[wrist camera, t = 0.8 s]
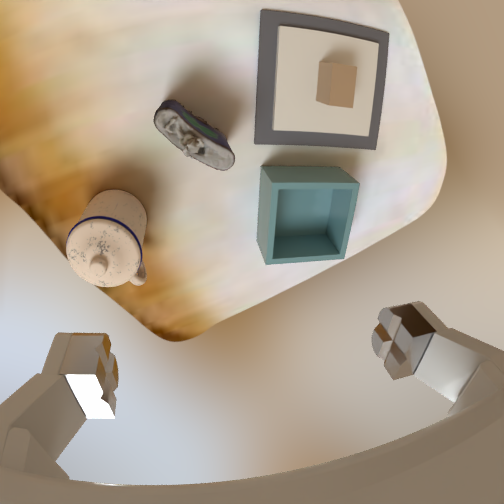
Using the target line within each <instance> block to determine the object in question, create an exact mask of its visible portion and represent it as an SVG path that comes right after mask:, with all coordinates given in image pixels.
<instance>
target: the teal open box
mask: <svg viewBox="0 0 504 504" xmlns="http://www.w3.org/2000/svg"><path fill="white" fill-rule="evenodd" d="M359 185H360V183H359V182H357V181H356V180H355V179H354V178H353V177H351V176H350V175H349V174H348V173H346V172H345V171H344V170H343V169H341V168H340V167H317V166H261V173H260V191H259V208H258V226H257V243H258V245H259V248H260V251H261V253H262V256H263V259H264V262H265V264H266V265H270V264H283V263H297V262H310V261H323V260H335V259H344V257H345V253H346V248H347V244H348V239H349V235H350V230H351V225H352V220H353V216H354V211H355V206H356V201H357V195H358V190H359Z"/></svg>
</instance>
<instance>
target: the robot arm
mask: <svg viewBox="0 0 504 504" xmlns="http://www.w3.org/2000/svg"><path fill="white" fill-rule="evenodd" d="M378 320H379V322H380V323H379V325H378V326H377V327H376V328H375V329H374V332H373V335H372V346H373V349H374V351H375V353H376V355H377V356H378V357H379V358H381V359H383V360H385V362H384V367H385V368H386V370H387V371H388V373H389V374H390V376H391V377H392V379H393V380H396V379H399V378H403V377H406V376H410V375H413V374H414V376H415V377H416V378H418V379H419V380H421V381H422V382H424V383H425V384H427V385H428V386H430V387H431V388H433V389H434V390H436V391H437V392H439V393H440V394H442V395H443V396H445V397H447V398H448V399H450V400H451V401H453V402H454V405H453V406H452V407H451V409H450V410H449V412H448V416H449V417H447V418H445V419H443V420H441V421H439V422H437V423H435V424H432V425H430V426H428V427H426V428H424V429H421V430H419V431H417V432H414V433H412V434H409V435H407V436H405V437H402V438H399V439H397V440H394V441H392V442H389V443H386V444H384V445H381V446H378V447H375V448H372V449H369V450H366V451H363V452H360V453H357V454H354V455H350V456H348V457H344V458H340V459H337V460H333V461H330V462H326V463H322V464H319V465H314V466H310V467H306V468H301V469H297V470H292V471H287V472H282V473H277V474H272V475H266V476H260V477H254V478H247V479H240V480H232V481H223V482H213V483H201V484H184V485H122V484H106V483H94V482H85V481H76V480H69V476H68V475H67V474H66V473H65V471H64V470H63V469H62V468H61V467H60V466H59V465H58V464H57V463H56V462H55V461H56V460H57V458H58V457H59V455H60V454H61V453H62V452H63V450H64V449H65V447H66V446H67V445H68V444H69V442H70V441H71V439H72V438H73V437H74V435H75V434H76V433H77V432H78V430H79V429H80V428H81V426H82V425H83V424H84V422H85V421H86V420H87V419H86V418H114V417H115V407H116V397H115V395H114V392H113V391H114V390H115V389H116V388H117V387H118V366H117V361H116V358H115V355H113V354H112V353H111V352H110V348H111V342H110V339H109V336H108V335H107V334H106V333H57V334H56V335H55V337H54V340H53V342H52V345H51V348H50V350H49V353H48V356H47V359H46V361H45V364H44V367H43V370H42V373H41V374H36V375H35V376H34V377H32V378H31V379H30V380H29V381H28V382H26V383H25V384H24V385H23V386H22V387H20V388H19V389H18V390H17V391H16V392H14V393H13V394H12V395H11V396H10V397H9V398H8V399H7V400H5V401H4V402H3V403H2V404H1V405H0V504H504V351H502V350H500V349H498V348H496V347H493V346H491V345H489V344H486V343H484V342H482V341H480V340H478V339H475V338H473V337H471V336H469V335H466V334H464V333H462V332H459V331H457V330H455V329H453V328H449V329H448V328H447V327H446V326H445V325H444V324H443V322H442V321H441V320H440V319H438V317H437V316H436V315H435V314H434V313H433V312H432V311H431V310H430V309H429V308H428V307H427V306H426V305H425V304H424V303H423V302H420V301H417V302H412V303H408V304H403V305H398V306H393V307H387V308H383V309H382V310H381V311H380V313H379V316H378Z"/></svg>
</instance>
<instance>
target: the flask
mask: <svg viewBox="0 0 504 504" xmlns="http://www.w3.org/2000/svg"><path fill="white" fill-rule="evenodd" d="M154 124H155V126H156V128H157V129H158V130H159V131H160V132H161V133H162V134H163V135H164V136H165V137H166V138H167V139H168V140H169V141H170V142H171V143H172V144H174V145H175V146H176V147H177V148H179V149H181V150H182V151H183V153H184V154H185V156H186V157H189V156H191V158H194V159H196V160H198V161H200V162H202V163H204V164H206V165H208V166H210V167H212V168H215V169H217V170H222V171H225V170H228V169H229V168H231V167H232V166H233V164H234V162H235V155H234V153H233V152H232V150H231V148H230V146H229V144H228V142H227V139H226V137H225V135H224V134H223V133H221V132H220V131H219V130H218V129H217V128H212V127H211V126H210V125H209V124H207V122H206V121H204V119H202V118H200V117H197V116H194V115H193V114H192V111H191V112H190V111H187V110H186V109H185V108H184V106H182V105H181V104H180V103H178V102H177V101H176V100H167V101H165V102H163V103H162V104H161V106H160V107H159V108H158V109H157V111H156V113H155V116H154Z"/></svg>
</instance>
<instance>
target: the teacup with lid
mask: <svg viewBox="0 0 504 504" xmlns="http://www.w3.org/2000/svg"><path fill="white" fill-rule="evenodd" d="M146 226H147V216H146V212H145V209H144V207H143V205H142V204H141V203H140V201H139V200H138V199H137V198H136V197H134V196H133V195H131V194H130V193H128V192H125V191H122V190H107V191H103V192H101V193H99V194H98V195H96V196H95V197H94V198H93V199H92V200H91V201H90V203H89V204H88V206H87V208H86V209H85V211H84V213H83V214H82V216H81V218H80V219H79V221H78V223H77V224H76V225H75V226H74V227H73V228H72V230H71V231H70V233H69V235H68V238H67V242H66V252H67V257H68V260H69V263H70V265H71V266H72V268H73V269H74V271H75V272H76V273H77V274H78V275H79V276H80V277H81V278H83V279H84V280H85V281H87V282H89V283H91V284H94V285H97V286H102V287H114V286H118V285H121V284H123V283H125V282H127V281H130V282H132V283H133V284H134V285H138V286H139V285H142V284H144V283H145V282H146V279H147V273H146V268H145V265H144V262H143V260H142V245H143V240H144V235H145V231H146ZM137 272H138V275H137V274H136V273H137Z"/></svg>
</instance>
